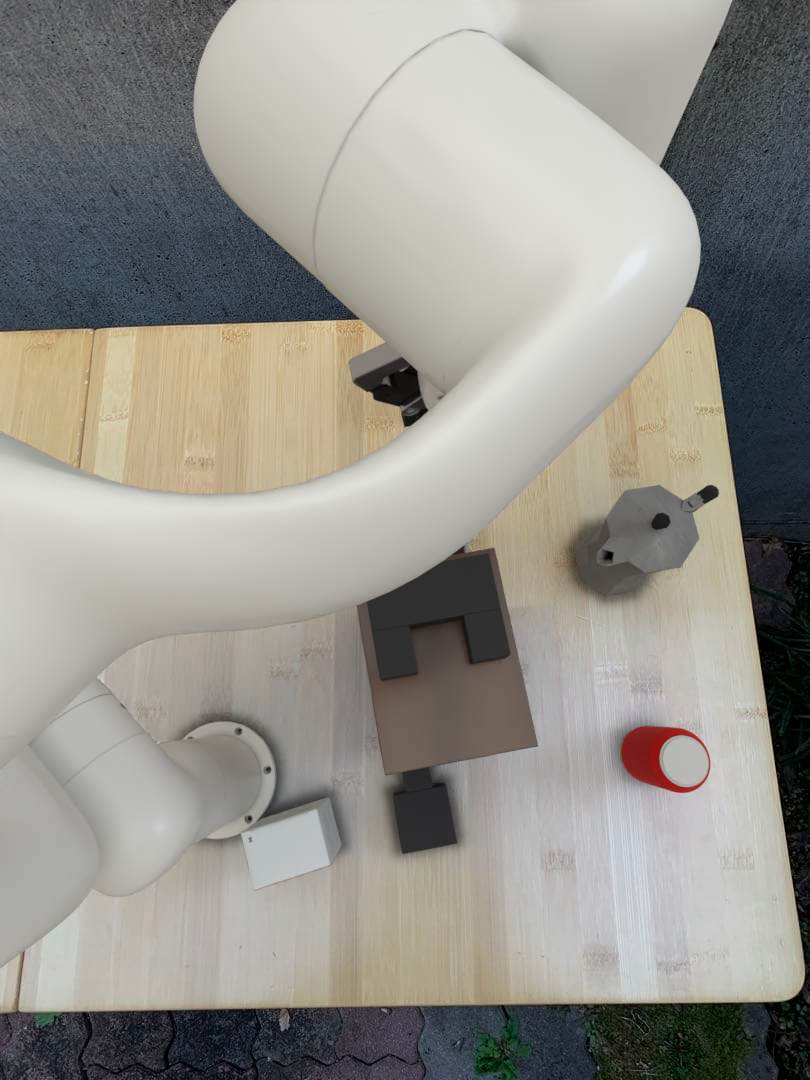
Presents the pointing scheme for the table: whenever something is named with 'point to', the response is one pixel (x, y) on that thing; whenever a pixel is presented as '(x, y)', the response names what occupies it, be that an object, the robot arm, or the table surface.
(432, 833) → the charcoal pad
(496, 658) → the black pad
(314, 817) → the small box
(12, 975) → the table surface
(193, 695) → the table surface
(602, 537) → the coffeepot
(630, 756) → the beverage can
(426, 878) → the table surface
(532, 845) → the table surface
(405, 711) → the walnut stand
